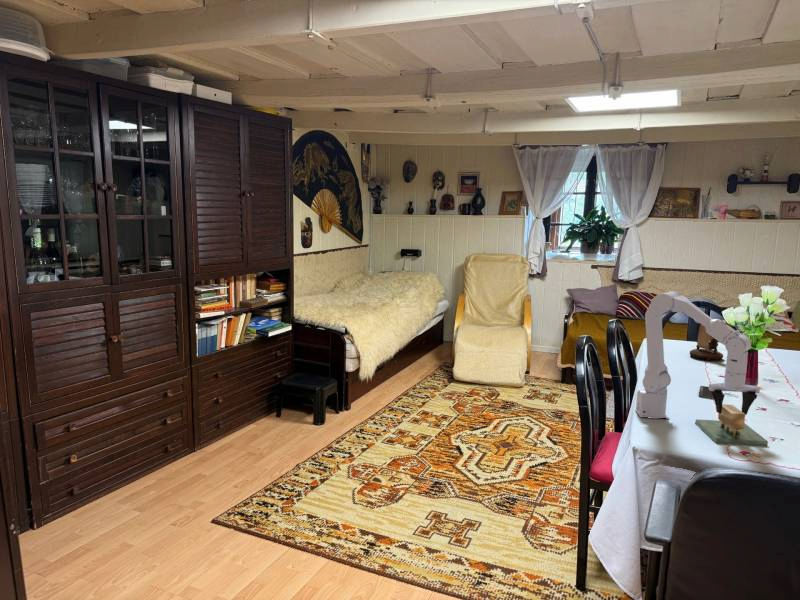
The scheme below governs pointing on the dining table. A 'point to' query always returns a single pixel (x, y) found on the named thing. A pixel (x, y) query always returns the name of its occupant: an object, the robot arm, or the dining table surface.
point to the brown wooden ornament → (705, 345)
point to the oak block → (732, 417)
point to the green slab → (730, 433)
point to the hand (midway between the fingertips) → (731, 413)
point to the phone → (705, 392)
